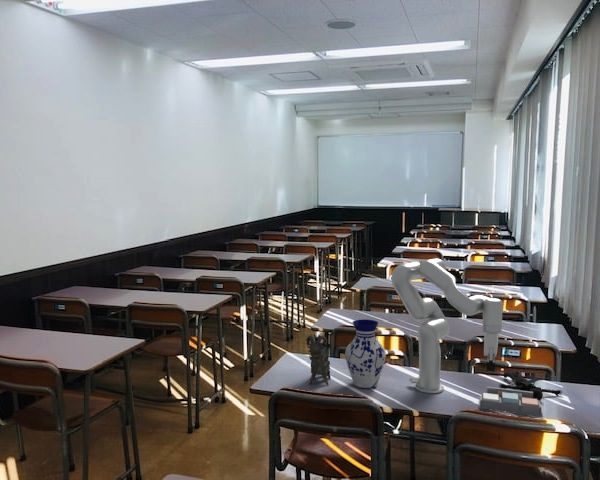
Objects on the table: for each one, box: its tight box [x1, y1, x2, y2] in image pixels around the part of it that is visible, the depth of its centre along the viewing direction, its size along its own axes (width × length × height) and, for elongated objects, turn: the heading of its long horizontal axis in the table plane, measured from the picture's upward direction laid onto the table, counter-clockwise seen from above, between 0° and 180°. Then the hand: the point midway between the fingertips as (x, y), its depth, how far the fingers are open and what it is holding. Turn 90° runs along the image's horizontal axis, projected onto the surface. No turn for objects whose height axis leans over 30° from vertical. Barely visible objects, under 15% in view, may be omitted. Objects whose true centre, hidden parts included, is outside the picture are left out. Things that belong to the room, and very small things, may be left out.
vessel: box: [305, 333, 332, 386], centre depth 244 cm, size 11×25×24 cm, turn 170°
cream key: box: [482, 392, 499, 402], centre depth 215 cm, size 6×6×3 cm
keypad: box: [478, 386, 544, 417], centre depth 213 cm, size 24×11×6 cm, turn 69°
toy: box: [498, 371, 562, 402], centre depth 232 cm, size 29×7×30 cm
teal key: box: [502, 392, 518, 404], centre depth 212 cm, size 6×6×3 cm
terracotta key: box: [521, 397, 538, 407], centre depth 209 cm, size 6×6×3 cm
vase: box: [344, 319, 387, 390], centre depth 239 cm, size 19×19×30 cm
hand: (490, 370), depth 214 cm, fingers closed
